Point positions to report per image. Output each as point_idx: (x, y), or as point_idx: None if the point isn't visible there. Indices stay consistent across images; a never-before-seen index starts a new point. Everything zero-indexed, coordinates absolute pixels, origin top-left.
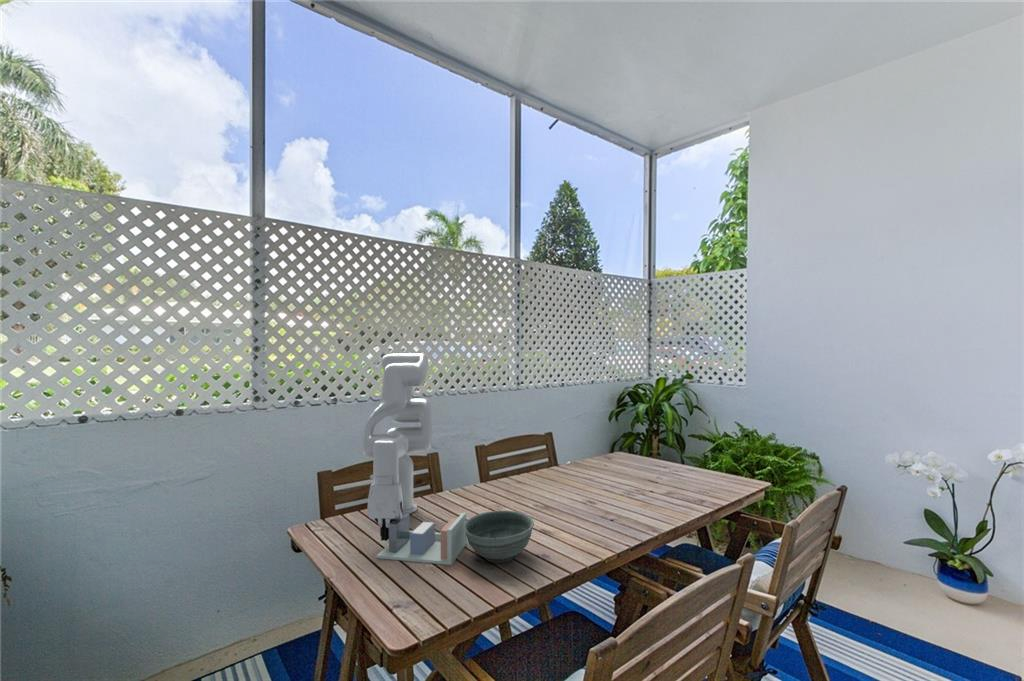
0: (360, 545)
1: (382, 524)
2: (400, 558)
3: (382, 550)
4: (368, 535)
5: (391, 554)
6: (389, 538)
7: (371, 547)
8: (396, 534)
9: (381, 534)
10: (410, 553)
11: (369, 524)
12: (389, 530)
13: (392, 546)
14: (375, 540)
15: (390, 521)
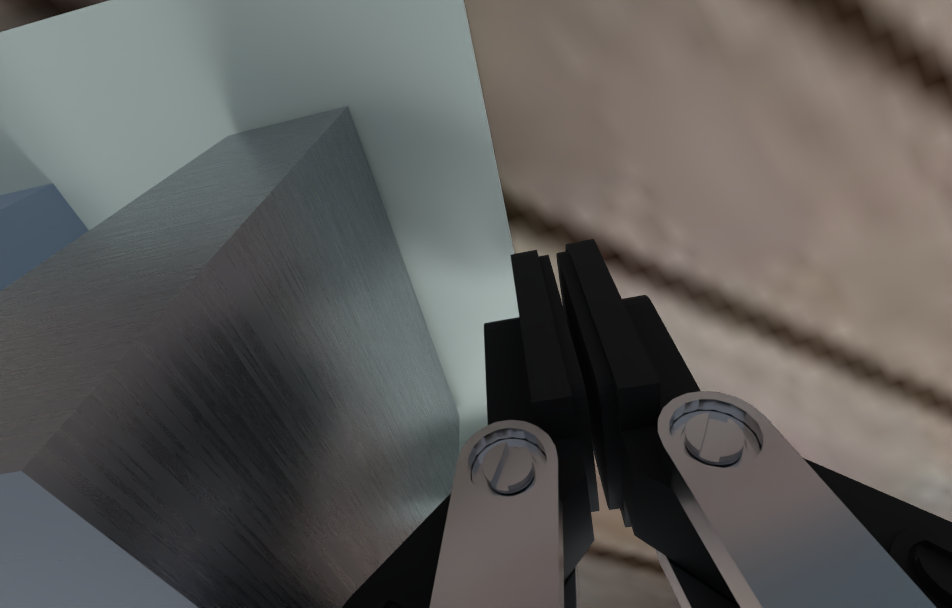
0: (907, 170)
1: (669, 470)
2: (50, 22)
3: (479, 110)
4: (887, 381)
5: (248, 51)
6: (268, 180)
7: (726, 181)
8: (35, 271)
9: (609, 292)
10: (48, 187)
11: (947, 509)
12: (176, 283)
13: (260, 141)
14: (760, 330)
15: (445, 602)
